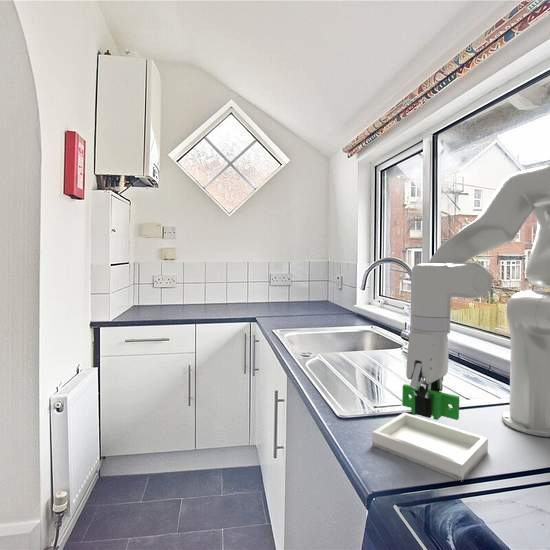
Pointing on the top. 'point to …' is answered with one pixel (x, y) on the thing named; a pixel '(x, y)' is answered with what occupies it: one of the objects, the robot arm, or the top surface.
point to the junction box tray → (431, 444)
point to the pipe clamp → (434, 403)
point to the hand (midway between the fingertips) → (428, 411)
